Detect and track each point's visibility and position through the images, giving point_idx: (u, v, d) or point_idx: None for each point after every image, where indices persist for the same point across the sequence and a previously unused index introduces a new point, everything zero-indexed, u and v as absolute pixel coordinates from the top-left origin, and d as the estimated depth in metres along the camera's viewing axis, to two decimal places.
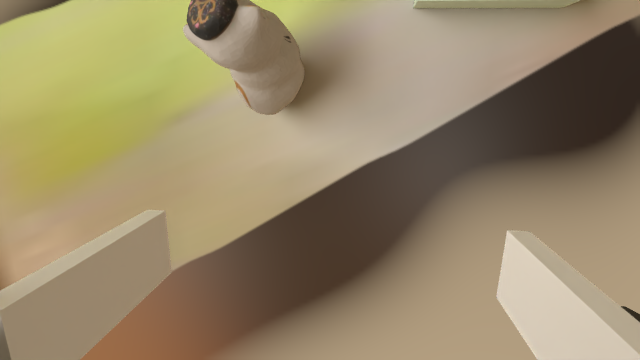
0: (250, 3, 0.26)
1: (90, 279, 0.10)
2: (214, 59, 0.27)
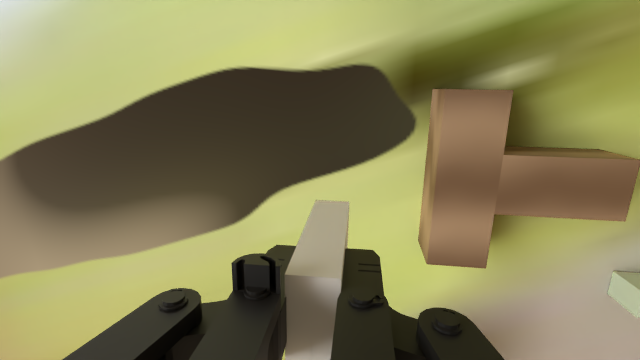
0: None
1: None
2: None
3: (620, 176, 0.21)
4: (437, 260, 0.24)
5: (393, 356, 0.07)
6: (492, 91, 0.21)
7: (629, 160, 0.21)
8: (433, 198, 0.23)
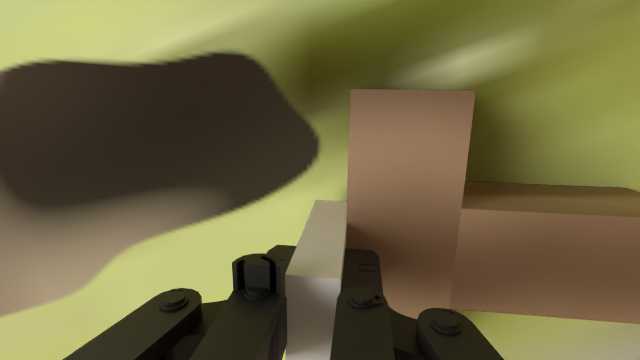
0: None
1: None
2: None
3: None
4: None
5: (392, 356, 0.07)
6: (437, 93, 0.11)
7: None
8: None
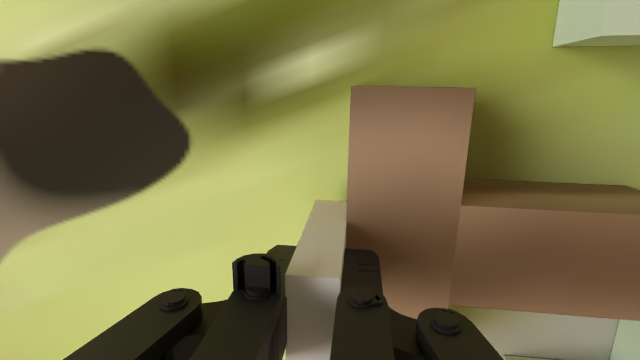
0: None
1: None
2: None
3: None
4: None
5: (392, 356, 0.07)
6: (437, 90, 0.11)
7: None
8: None
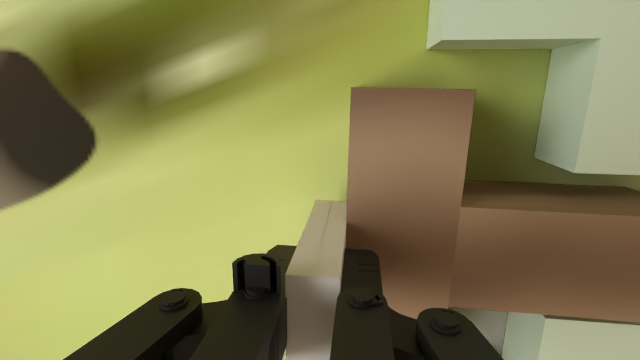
0: None
1: None
2: None
3: None
4: None
5: (392, 356, 0.07)
6: (437, 91, 0.11)
7: None
8: None
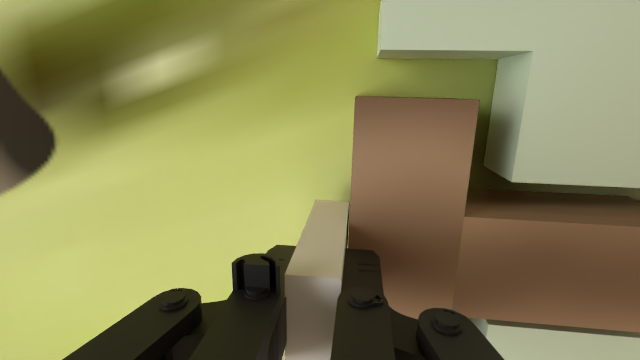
0: None
1: None
2: None
3: None
4: None
5: (393, 356, 0.07)
6: (441, 102, 0.11)
7: None
8: None
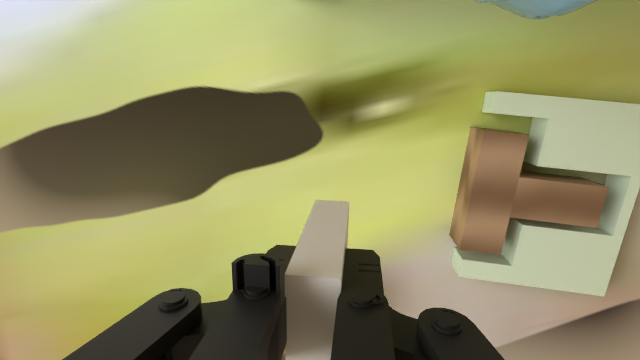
0: None
1: None
2: None
3: (595, 197, 0.32)
4: (467, 247, 0.34)
5: (393, 356, 0.07)
6: (515, 134, 0.32)
7: (601, 187, 0.32)
8: (468, 203, 0.34)
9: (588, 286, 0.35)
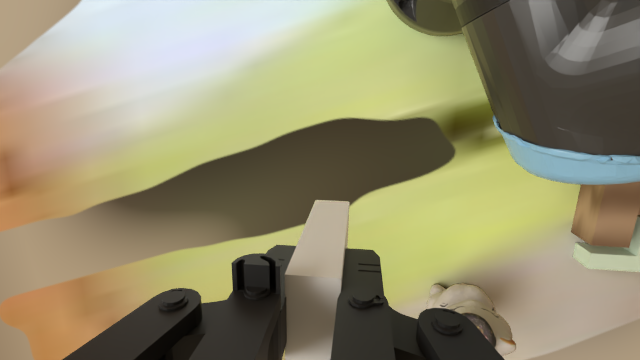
0: (496, 325, 0.34)
1: None
2: None
3: None
4: (598, 243, 0.40)
5: (393, 356, 0.07)
6: None
7: None
8: (599, 205, 0.39)
9: None
